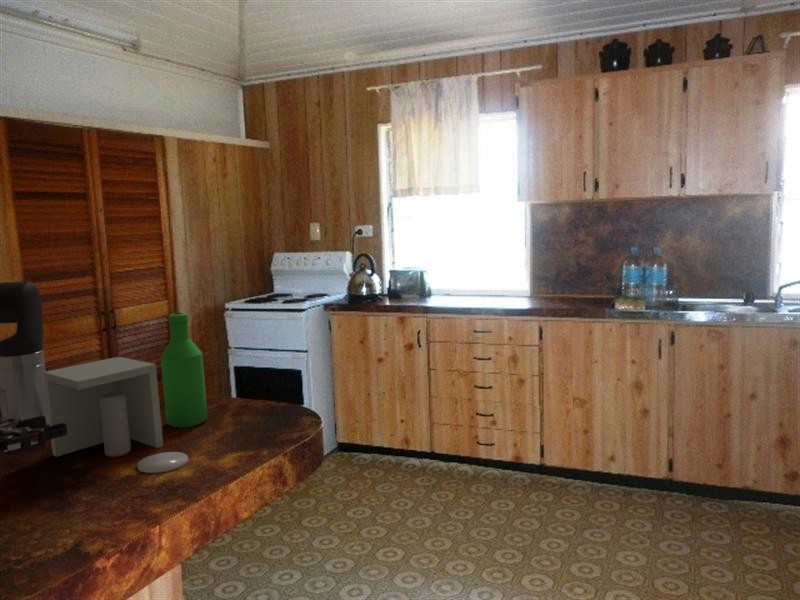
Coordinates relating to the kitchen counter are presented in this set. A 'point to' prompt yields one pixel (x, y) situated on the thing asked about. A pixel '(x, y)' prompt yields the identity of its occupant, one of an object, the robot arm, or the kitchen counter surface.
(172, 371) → the bottle
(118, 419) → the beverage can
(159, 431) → the shelf housing
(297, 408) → the kitchen counter surface
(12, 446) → the robot arm
